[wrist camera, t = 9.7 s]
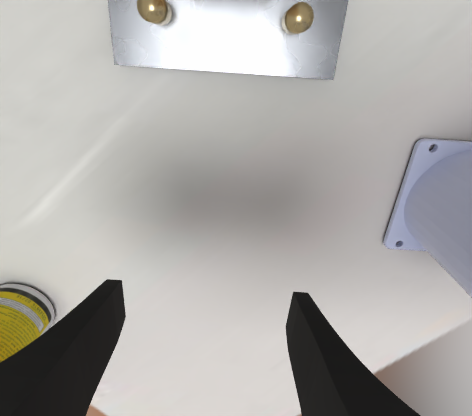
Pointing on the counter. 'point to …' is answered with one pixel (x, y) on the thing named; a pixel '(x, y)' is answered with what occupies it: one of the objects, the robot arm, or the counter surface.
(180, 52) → the plate
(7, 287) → the supplement bottle
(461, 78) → the counter surface
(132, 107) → the counter surface
